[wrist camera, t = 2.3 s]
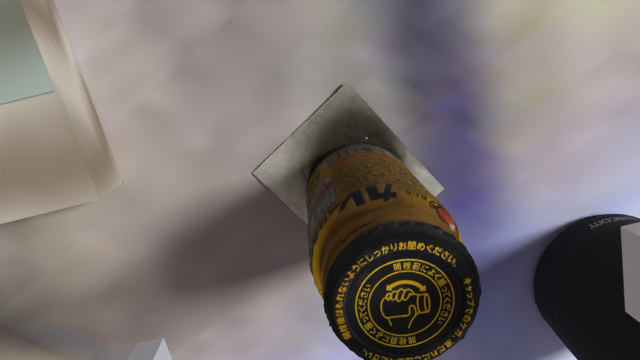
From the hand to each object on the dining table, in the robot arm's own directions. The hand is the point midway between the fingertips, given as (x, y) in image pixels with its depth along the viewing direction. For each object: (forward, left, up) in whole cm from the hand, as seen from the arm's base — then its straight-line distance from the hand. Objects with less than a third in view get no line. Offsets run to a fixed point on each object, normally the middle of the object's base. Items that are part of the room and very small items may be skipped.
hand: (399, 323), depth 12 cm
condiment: (0, 0, -14) cm, 14 cm away
